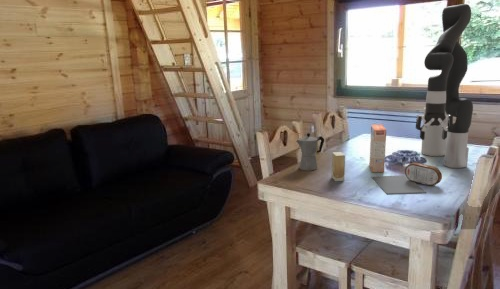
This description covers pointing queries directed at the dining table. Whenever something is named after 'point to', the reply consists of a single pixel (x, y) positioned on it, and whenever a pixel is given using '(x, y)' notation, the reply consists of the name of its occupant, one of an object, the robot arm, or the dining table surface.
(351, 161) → the dining table surface
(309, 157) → the coffeepot
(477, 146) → the dining table surface
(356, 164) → the dining table surface
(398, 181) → the mat
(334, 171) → the skincare box
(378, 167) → the cracker box
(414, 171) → the tin
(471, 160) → the dining table surface
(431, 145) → the cylinder vase
